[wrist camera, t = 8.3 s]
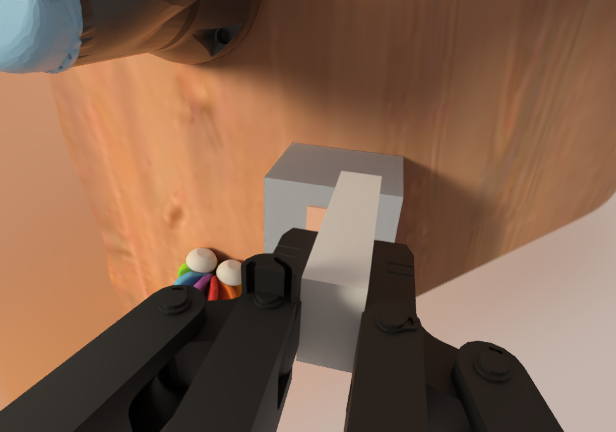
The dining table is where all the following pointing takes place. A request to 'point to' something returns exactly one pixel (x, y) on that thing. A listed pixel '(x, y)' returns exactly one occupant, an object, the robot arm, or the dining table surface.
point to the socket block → (325, 189)
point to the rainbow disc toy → (201, 277)
